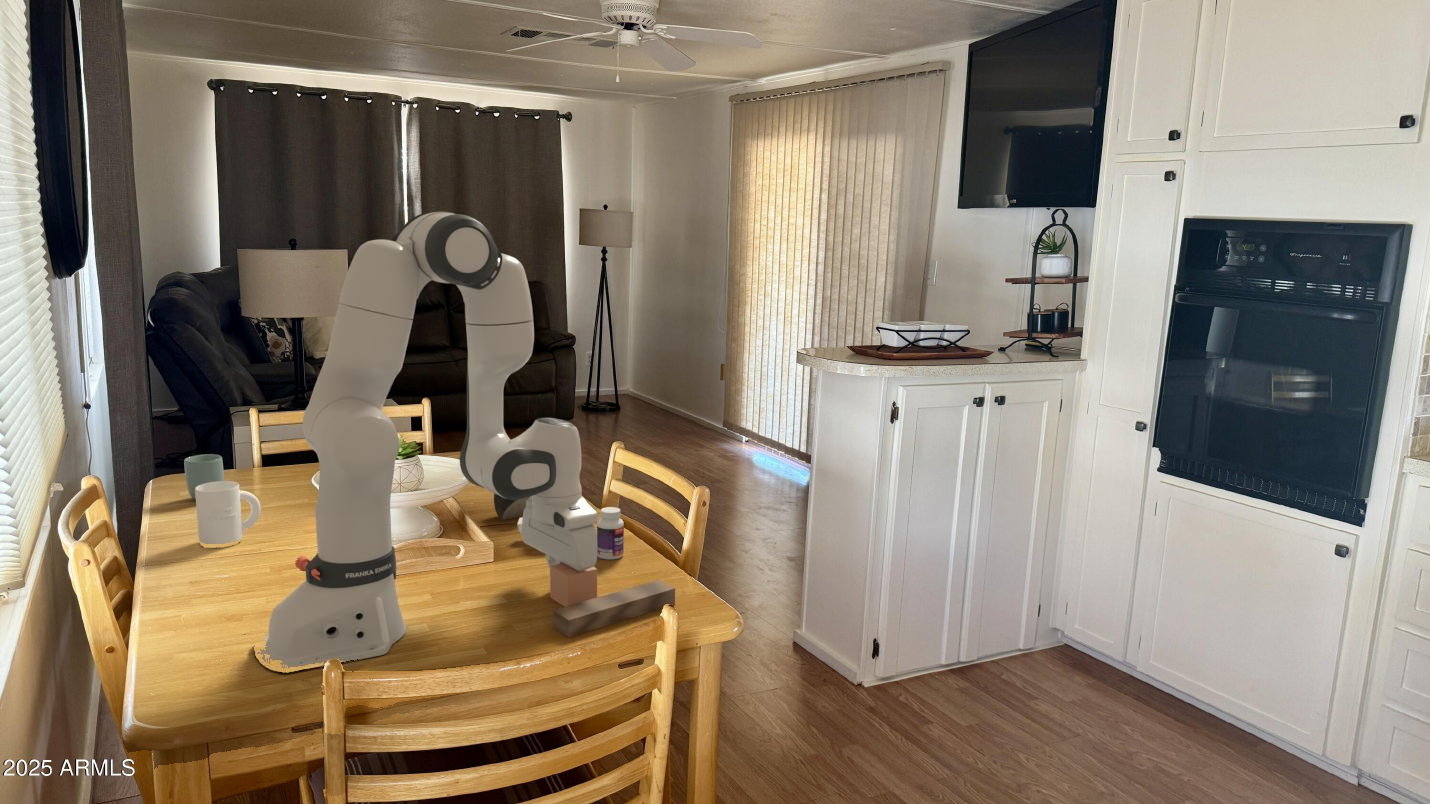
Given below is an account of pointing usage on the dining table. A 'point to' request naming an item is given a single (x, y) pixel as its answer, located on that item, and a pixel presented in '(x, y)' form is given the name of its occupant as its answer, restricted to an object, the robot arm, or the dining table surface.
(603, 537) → the pill bottle
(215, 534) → the mug
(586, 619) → the board
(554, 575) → the block
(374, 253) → the robot arm
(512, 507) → the stone
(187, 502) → the dining table surface
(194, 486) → the cup
